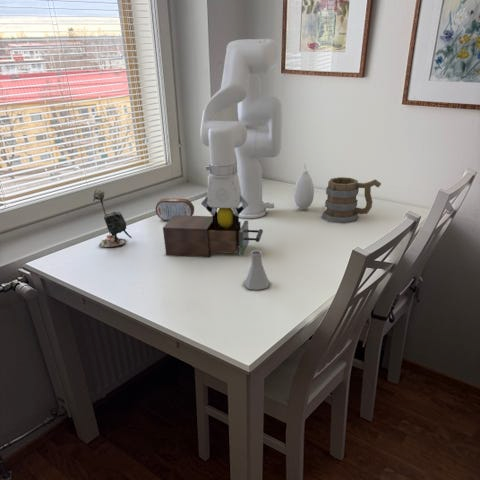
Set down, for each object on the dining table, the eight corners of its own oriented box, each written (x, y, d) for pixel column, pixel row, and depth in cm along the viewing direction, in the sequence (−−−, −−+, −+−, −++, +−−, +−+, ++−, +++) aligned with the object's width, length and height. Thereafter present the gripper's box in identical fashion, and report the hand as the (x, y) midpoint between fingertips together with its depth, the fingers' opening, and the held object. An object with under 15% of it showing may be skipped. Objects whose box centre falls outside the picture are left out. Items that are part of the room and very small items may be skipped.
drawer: (263, 243, 157) (263, 221, 153) (259, 256, 148) (258, 232, 144) (210, 241, 160) (208, 219, 156) (202, 253, 151) (200, 230, 147)
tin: (195, 218, 183) (193, 197, 179) (193, 221, 180) (191, 200, 176) (158, 218, 185) (155, 197, 180) (156, 221, 182) (153, 200, 178)
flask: (243, 280, 136) (242, 248, 130) (267, 278, 136) (267, 246, 131) (245, 291, 129) (244, 258, 124) (271, 289, 130) (271, 256, 125)
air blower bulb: (315, 207, 191) (318, 162, 181) (309, 213, 185) (311, 166, 175) (297, 205, 194) (298, 160, 184) (291, 211, 188) (292, 165, 178)
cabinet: (217, 243, 161) (215, 216, 156) (209, 257, 151) (207, 229, 146) (176, 241, 163) (174, 215, 158) (166, 255, 153) (162, 227, 148)
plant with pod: (125, 249, 158) (116, 191, 148) (95, 247, 161) (83, 190, 150) (135, 240, 165) (126, 184, 155) (106, 238, 167) (95, 183, 157)
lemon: (236, 226, 153) (235, 202, 148) (231, 232, 148) (230, 208, 144) (221, 225, 154) (219, 201, 150) (215, 231, 150) (213, 207, 146)
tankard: (320, 220, 177) (322, 181, 169) (327, 210, 187) (330, 172, 179) (373, 226, 170) (378, 185, 162) (378, 215, 180) (383, 176, 172)
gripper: (192, 172, 139) (197, 229, 149) (248, 173, 137) (250, 231, 146) (198, 166, 146) (203, 221, 155) (252, 166, 143) (253, 223, 152)
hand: (226, 225), depth 151 cm, fingers closed on lemon, 5 cm apart
